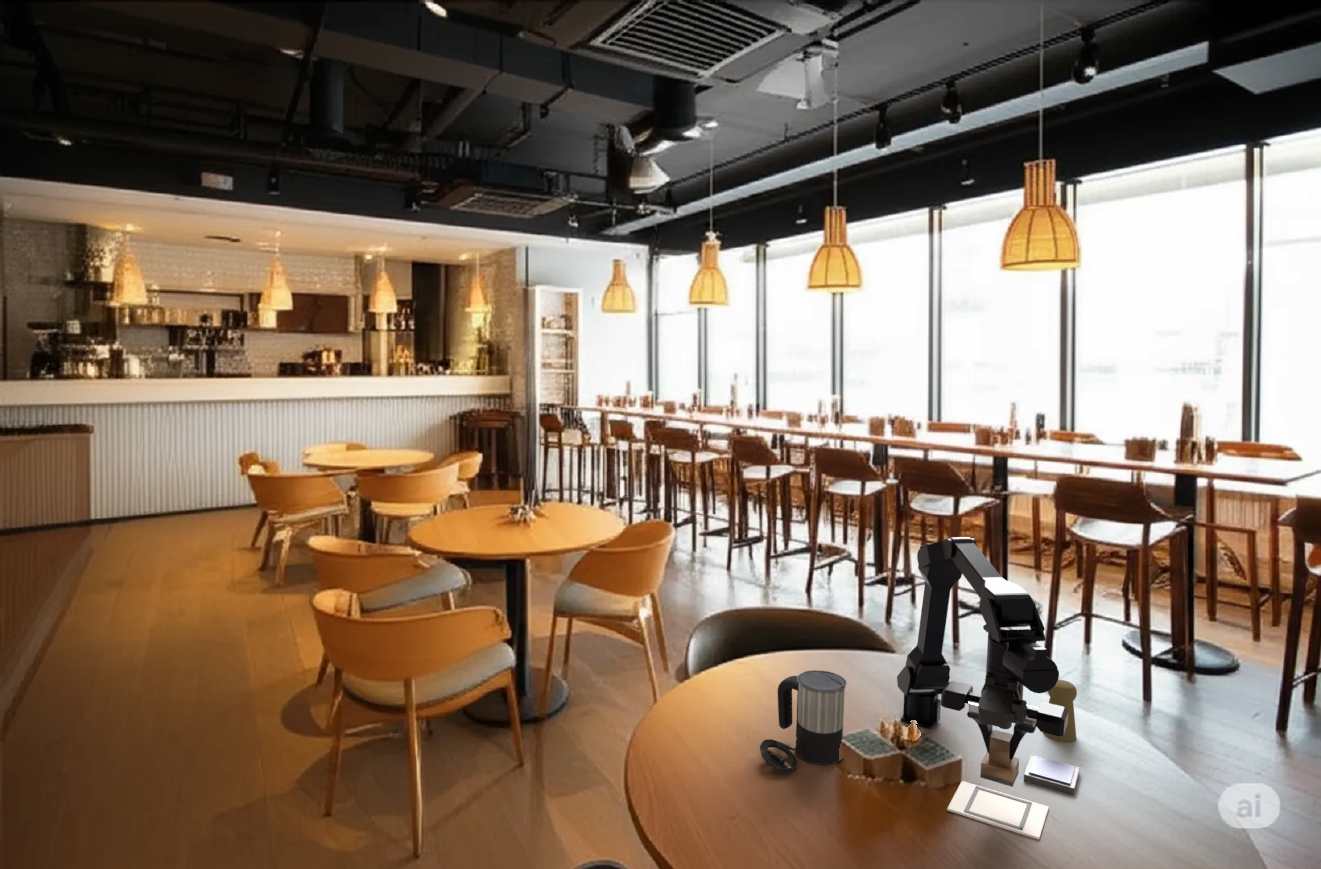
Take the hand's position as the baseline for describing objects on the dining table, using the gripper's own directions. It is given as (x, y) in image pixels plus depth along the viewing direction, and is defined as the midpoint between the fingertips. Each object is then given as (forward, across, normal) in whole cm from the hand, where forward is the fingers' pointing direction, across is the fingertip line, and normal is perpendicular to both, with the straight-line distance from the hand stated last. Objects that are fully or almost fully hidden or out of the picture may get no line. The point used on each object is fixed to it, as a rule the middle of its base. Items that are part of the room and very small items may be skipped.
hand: (1000, 755), depth 130 cm
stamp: (+3, 0, 0) cm, 3 cm away
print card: (+10, 0, 0) cm, 10 cm away
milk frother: (+10, -34, -3) cm, 35 cm away
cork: (+10, +5, +34) cm, 36 cm away
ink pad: (+10, +6, +16) cm, 20 cm away
